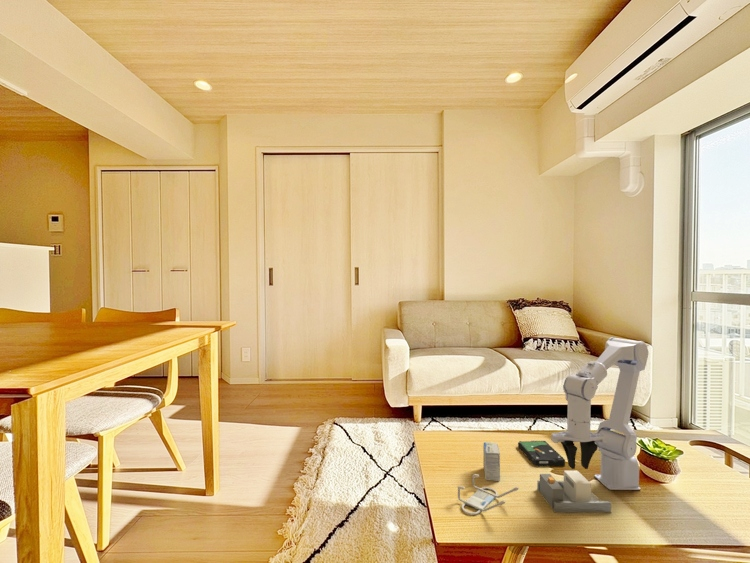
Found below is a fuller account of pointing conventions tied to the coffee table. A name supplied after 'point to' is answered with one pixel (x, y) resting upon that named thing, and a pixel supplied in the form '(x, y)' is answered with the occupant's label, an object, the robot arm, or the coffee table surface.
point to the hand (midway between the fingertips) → (578, 467)
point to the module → (576, 486)
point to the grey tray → (579, 504)
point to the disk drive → (541, 453)
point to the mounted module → (551, 489)
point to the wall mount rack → (481, 498)
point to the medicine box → (491, 461)
